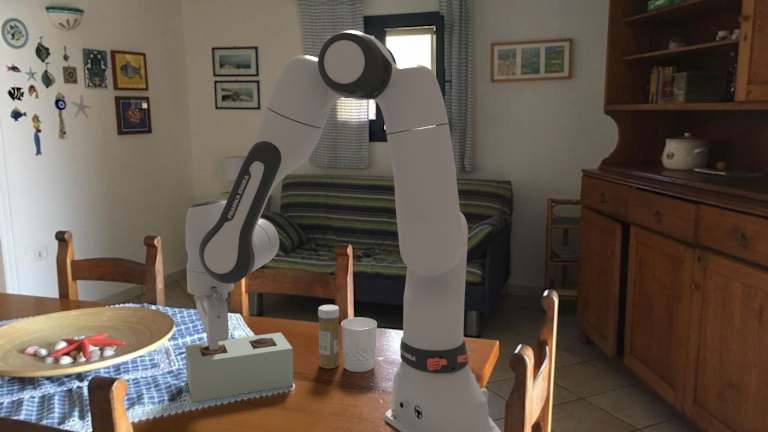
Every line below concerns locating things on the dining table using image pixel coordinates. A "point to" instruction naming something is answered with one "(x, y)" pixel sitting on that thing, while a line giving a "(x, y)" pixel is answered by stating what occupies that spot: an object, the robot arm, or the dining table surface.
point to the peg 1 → (208, 352)
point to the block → (238, 367)
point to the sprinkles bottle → (328, 336)
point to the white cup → (359, 343)
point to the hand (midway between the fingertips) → (213, 347)
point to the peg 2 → (262, 343)
